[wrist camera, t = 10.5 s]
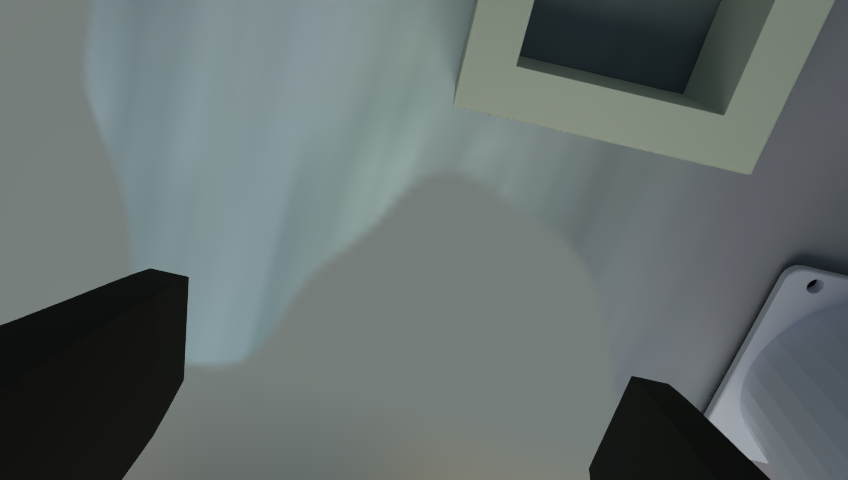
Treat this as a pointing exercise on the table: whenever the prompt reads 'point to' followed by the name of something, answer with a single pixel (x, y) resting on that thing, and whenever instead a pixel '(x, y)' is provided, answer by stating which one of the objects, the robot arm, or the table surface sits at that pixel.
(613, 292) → the table surface
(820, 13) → the housing
